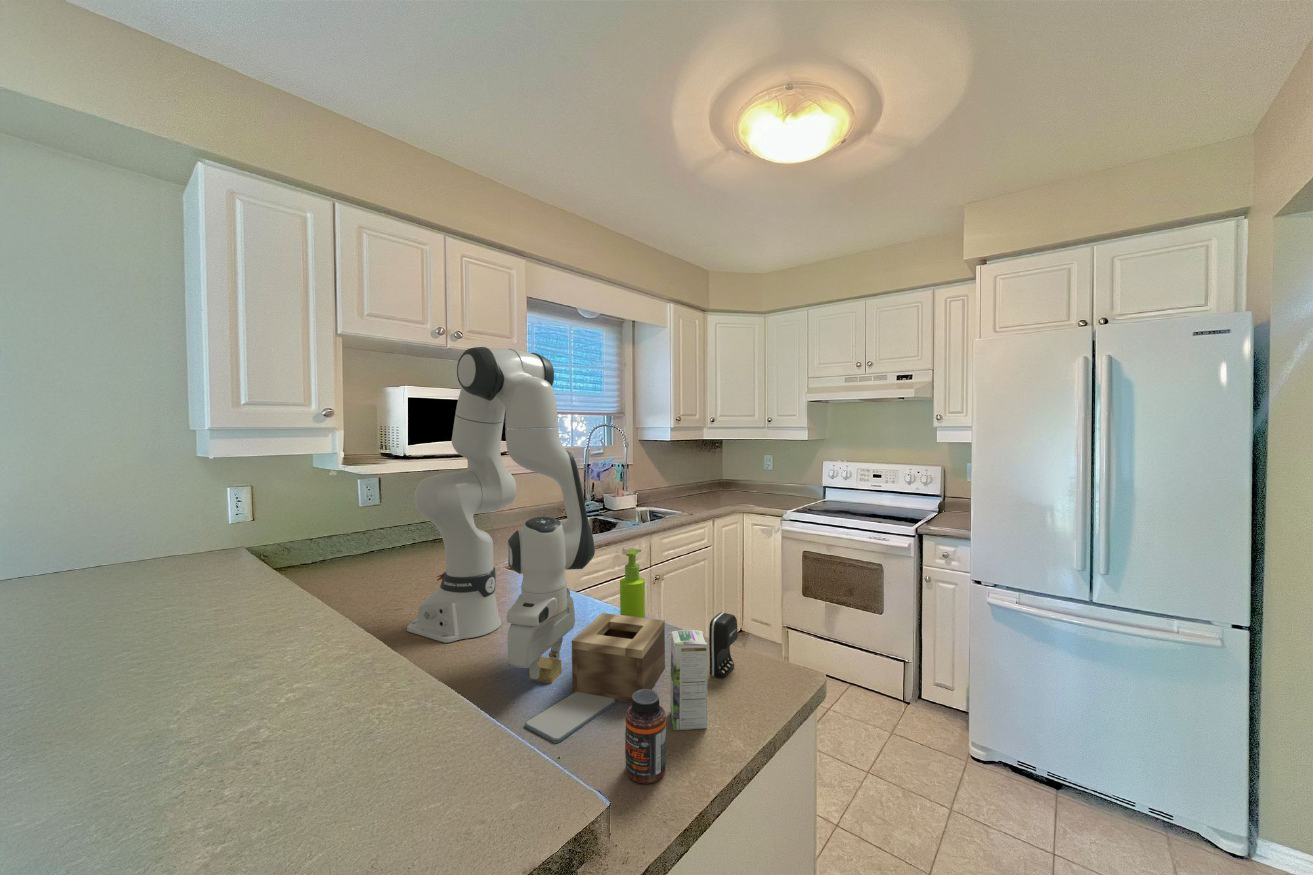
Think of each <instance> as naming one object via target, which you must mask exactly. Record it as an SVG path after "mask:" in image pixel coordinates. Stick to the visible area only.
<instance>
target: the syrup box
mask: <svg viewBox="0 0 1313 875" xmlns="http://www.w3.org/2000/svg"><path fill="white" fill-rule="evenodd" d="M670 637H671V638H670V642H671V643H670V646H671V647H670V718H671V724H672V728H673V730H674V731H685V730H686V731H687V730H701V729H708V673H709V672H708V671H709V670H708V662H709V657H708V653H709V652H708V650H709V649H708V648H709V647H708V646H709V644H708V642H707V639H706V637H705V634H704V632H703V631H702V630H696V629H681V630H680V629H679V630H674V631H671V635H670Z"/></svg>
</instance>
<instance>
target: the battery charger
mask: <svg viewBox="0 0 1313 875" xmlns="http://www.w3.org/2000/svg"><path fill="white" fill-rule="evenodd" d="M708 627H709V628H708V629H709V633H708V634H709V637H708V639H709V640H708V643H709V644H708V646H709V647H708V648H709V649H708V650H709V652H708V653H709V675H710V677H713V678H718V679H724V678H726V677H727V676H728V675H729V674H730V673H731V671H732V670H733V669H734V668H735V662H734V660H733V658H732V656H731V648H730V647H731V645H732V644H734V643H735V642H736V641H737V639H738V637H739V634H738V632H739V631H738V620H737V617H736V615H734V614H731V613H727V612H719V613H717V614H716V615H715V616H714V617H713V618H712V619H711V620H710V623H709V626H708Z"/></svg>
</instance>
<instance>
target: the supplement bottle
mask: <svg viewBox="0 0 1313 875" xmlns="http://www.w3.org/2000/svg"><path fill="white" fill-rule="evenodd" d="M660 703H661V702H660V695H659V693H658V692H657V691H655V690H654V689H652V690H650V689H642V690H638V691H636V692H635V693H634V694H633V695H632V703H631V705H630V706H629V707H628V709H626V712H625V718H624V721H625V722H624V728H625V730H624V733H625V734H624V735H625V736H624V742H625V744H624V746H625V747H624V748H625V749H624V752H625V753H624V755H625V757H624V759H625V760H624V763H625V772H626V773H625V774H626V775H627V777H628V778H630V779H631V780H632V781H633V782H635V783H639V784H647V785H648V784H653V783H656V782H657V781H659V780H660V779H661V778H663V776H664V775H665V772H666V768H667V767H666V766H667V764H666V762H667V760H666V758H667V755H666V753H667V752H666V751H667V737H666V736H667V731H666V730H667V729H666V728H667V726H666V725H667V723H666V722H667V721H666V720H667V719H666V718H667V717H666V715H667V714H666V711H665V709H664V708H663V707H662V705H661V704H660Z"/></svg>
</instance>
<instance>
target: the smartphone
mask: <svg viewBox="0 0 1313 875" xmlns="http://www.w3.org/2000/svg"><path fill="white" fill-rule="evenodd" d="M616 702H617V700H615V699H614V698H608V697H603V696H597V695H592V694H586V693H581V692H574V693H571V694H570V695H567V696H566V697H565V698H563V699H561V700H560V701H558V702H556V703H554V704H553V705H551V706H549V707H547V708H546V709H544V710H543V711H541V712H539V713H538V714H536V715H534V716H532V717H531V718H529V719H528V720H526V721H525V722H524V727H525V729H527V730H529V731H531V732H533V733H535V734H537V735H539V736H540V737H542V738H544V739H546V740H548V741H550V742H551V743H554V744H559V743H561V742H563V741H564V740H565V739H567V738H568V737H570V736H571V735H573V734H574V733H575V732H577V731H578V730H580V729H581V728H583V727H584V726H585V725H587V724H589V723H590V722H591V721H592V720H594V719H595V718H597V717H598V716H600V715H601V714H602V713H604V712H605V711H607V710H608V709H609V708H611V707H612V706H613V705H615V704H616Z"/></svg>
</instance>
